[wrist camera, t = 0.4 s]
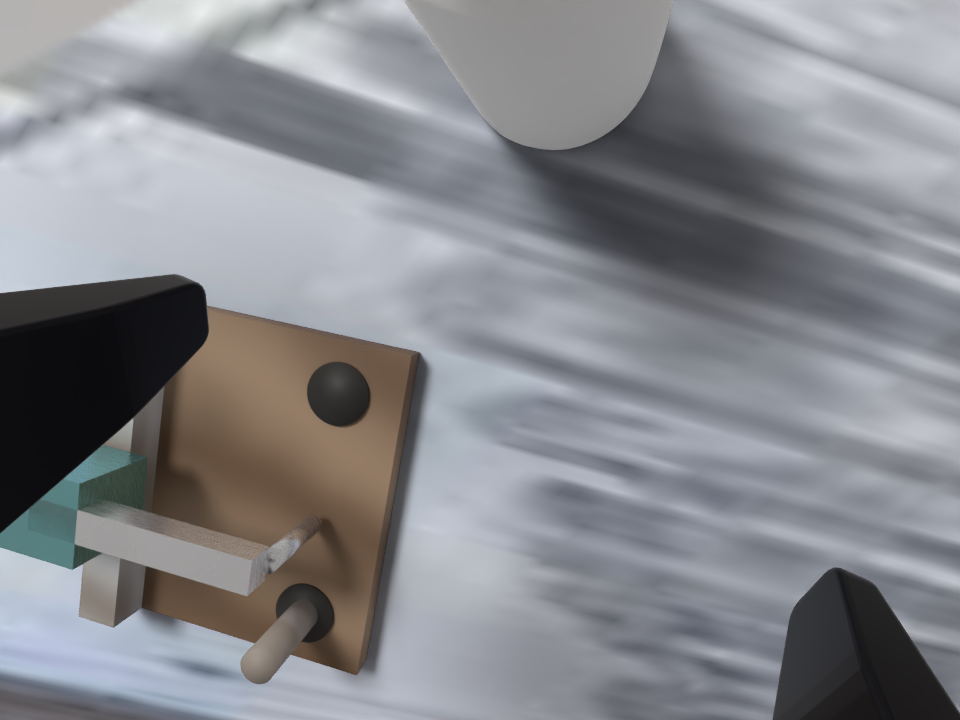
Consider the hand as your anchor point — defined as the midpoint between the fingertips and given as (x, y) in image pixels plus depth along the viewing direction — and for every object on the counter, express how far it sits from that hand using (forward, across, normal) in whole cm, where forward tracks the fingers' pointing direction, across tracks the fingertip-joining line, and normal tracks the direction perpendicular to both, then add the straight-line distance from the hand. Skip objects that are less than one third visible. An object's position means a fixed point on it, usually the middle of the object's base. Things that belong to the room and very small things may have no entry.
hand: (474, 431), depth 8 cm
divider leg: (+6, +11, +14) cm, 19 cm away
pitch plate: (+7, +10, +14) cm, 19 cm away
